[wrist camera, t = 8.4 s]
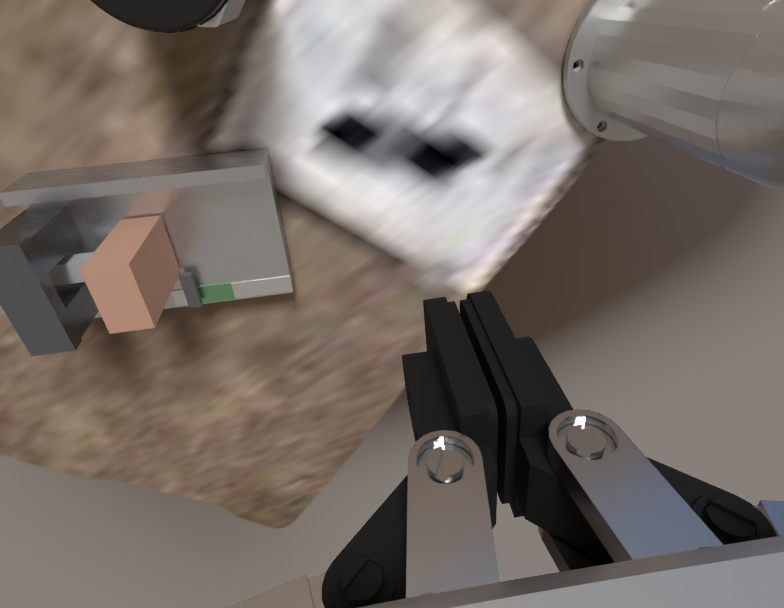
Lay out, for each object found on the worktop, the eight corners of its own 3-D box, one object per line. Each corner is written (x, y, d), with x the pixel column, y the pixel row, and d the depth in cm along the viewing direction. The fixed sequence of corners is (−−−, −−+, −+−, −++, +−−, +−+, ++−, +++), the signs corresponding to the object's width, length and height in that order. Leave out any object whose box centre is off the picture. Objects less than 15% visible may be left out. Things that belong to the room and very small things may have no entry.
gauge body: (267, 147, 39) (256, 189, 31) (294, 279, 45) (290, 341, 37) (28, 172, 37) (-49, 223, 29) (91, 304, 44) (43, 375, 36)
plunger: (174, 213, 38) (144, 262, 31) (203, 301, 42) (183, 360, 35) (-32, 237, 36) (-109, 292, 30) (20, 325, 41) (-36, 390, 34)
